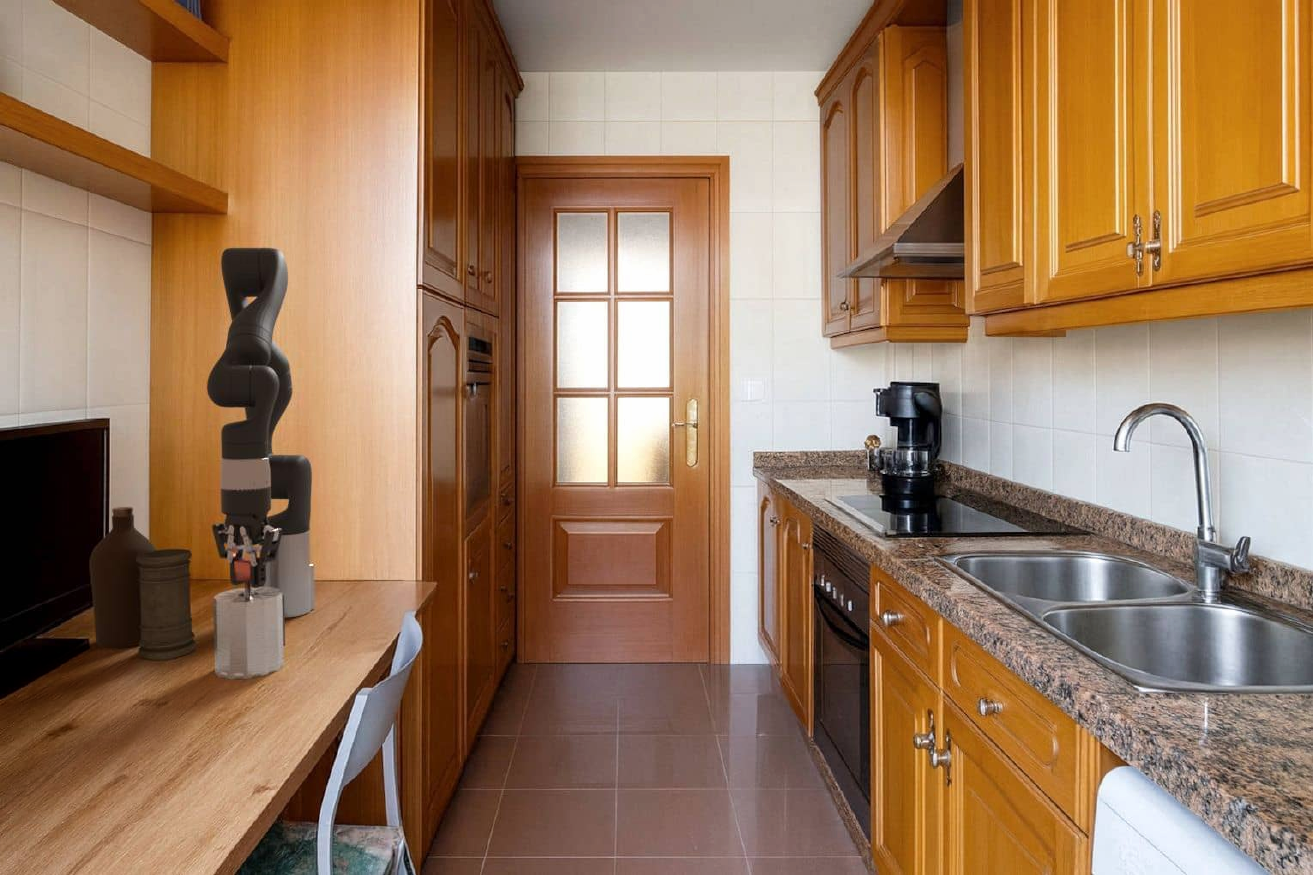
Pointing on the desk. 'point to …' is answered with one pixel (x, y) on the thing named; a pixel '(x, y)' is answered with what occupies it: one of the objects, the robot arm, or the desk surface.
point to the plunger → (244, 573)
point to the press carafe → (248, 632)
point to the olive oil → (118, 582)
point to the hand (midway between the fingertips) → (248, 584)
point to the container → (165, 604)
